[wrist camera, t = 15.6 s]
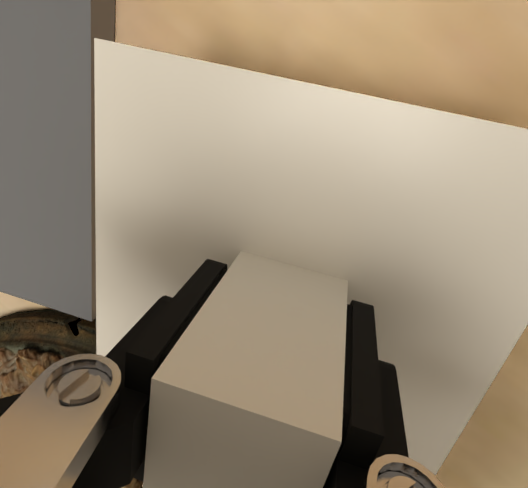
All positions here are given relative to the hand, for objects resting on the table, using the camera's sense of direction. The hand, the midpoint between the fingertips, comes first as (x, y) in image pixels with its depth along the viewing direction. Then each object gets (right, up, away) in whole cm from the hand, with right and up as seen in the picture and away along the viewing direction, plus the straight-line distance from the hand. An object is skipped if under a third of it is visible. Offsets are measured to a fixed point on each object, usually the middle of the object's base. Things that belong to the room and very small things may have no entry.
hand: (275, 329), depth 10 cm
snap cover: (+1, +1, +3) cm, 3 cm away
